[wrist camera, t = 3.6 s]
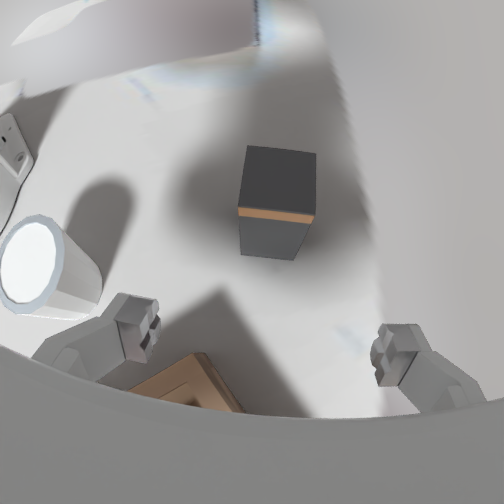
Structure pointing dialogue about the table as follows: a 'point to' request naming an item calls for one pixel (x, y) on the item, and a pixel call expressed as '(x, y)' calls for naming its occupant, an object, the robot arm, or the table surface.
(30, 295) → the white cup
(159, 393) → the walnut box
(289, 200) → the dark grey banded block
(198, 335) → the table surface
